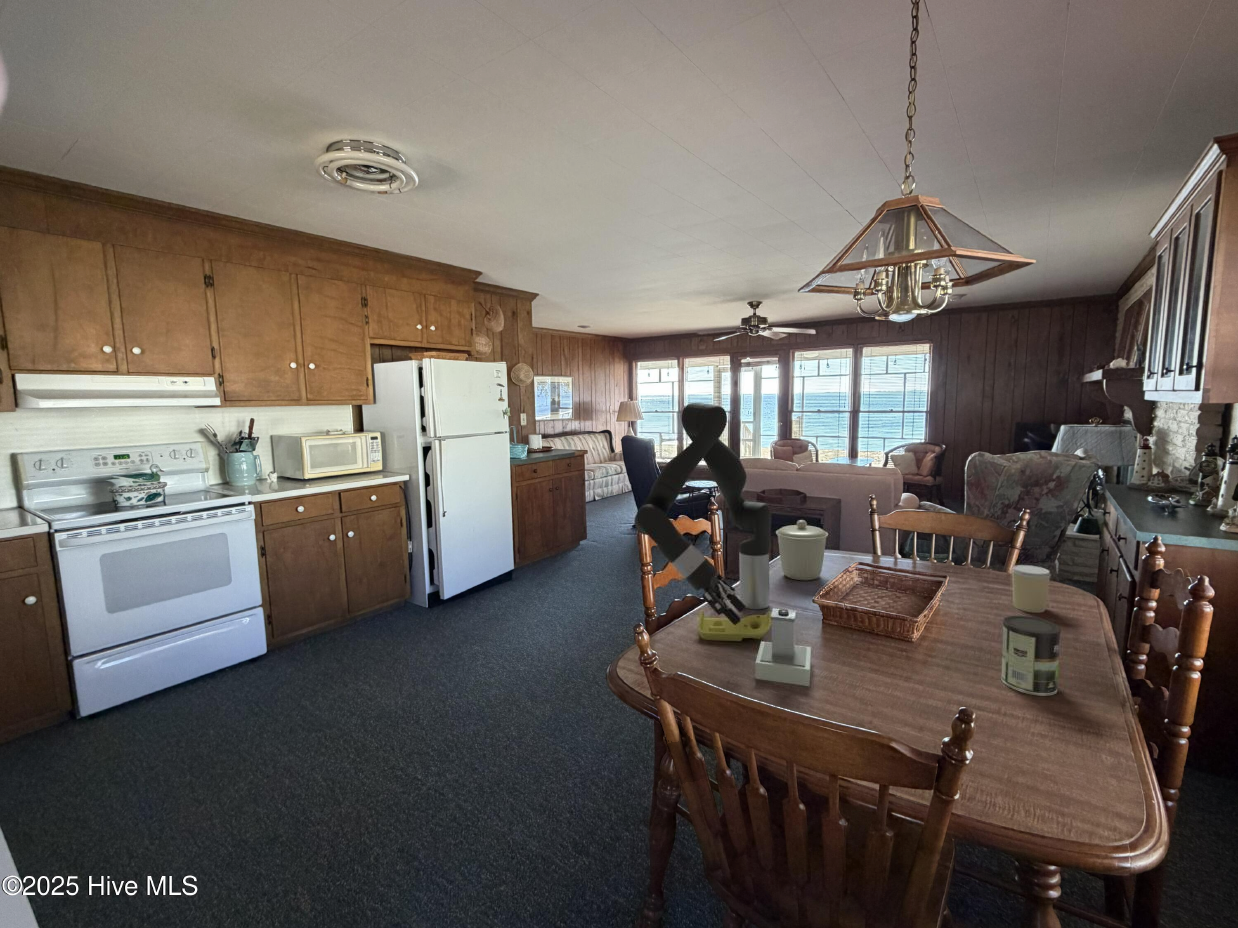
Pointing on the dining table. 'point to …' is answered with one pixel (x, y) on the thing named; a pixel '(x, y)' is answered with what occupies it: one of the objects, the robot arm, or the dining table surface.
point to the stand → (784, 665)
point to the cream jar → (1030, 588)
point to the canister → (801, 550)
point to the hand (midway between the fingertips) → (740, 615)
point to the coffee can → (1030, 655)
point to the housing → (783, 633)
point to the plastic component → (733, 627)
